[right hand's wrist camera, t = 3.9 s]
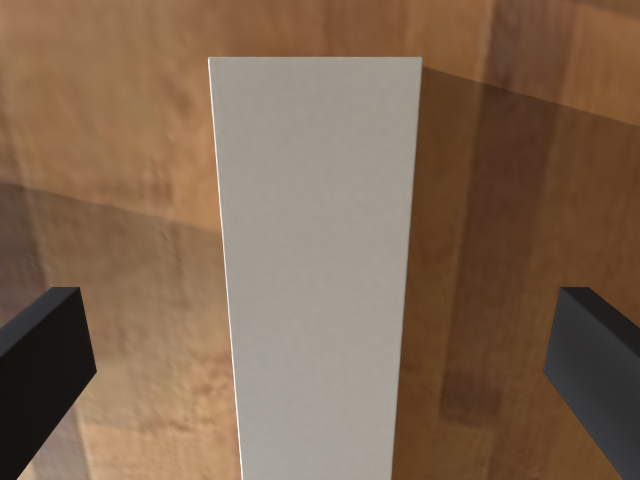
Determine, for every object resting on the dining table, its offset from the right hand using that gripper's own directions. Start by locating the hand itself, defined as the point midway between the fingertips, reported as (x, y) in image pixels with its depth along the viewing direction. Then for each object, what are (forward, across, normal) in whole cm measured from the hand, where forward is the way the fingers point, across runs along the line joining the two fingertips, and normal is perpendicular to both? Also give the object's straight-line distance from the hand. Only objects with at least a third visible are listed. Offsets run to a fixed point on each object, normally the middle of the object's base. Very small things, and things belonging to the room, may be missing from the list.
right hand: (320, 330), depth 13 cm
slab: (+19, 0, -23) cm, 30 cm away
